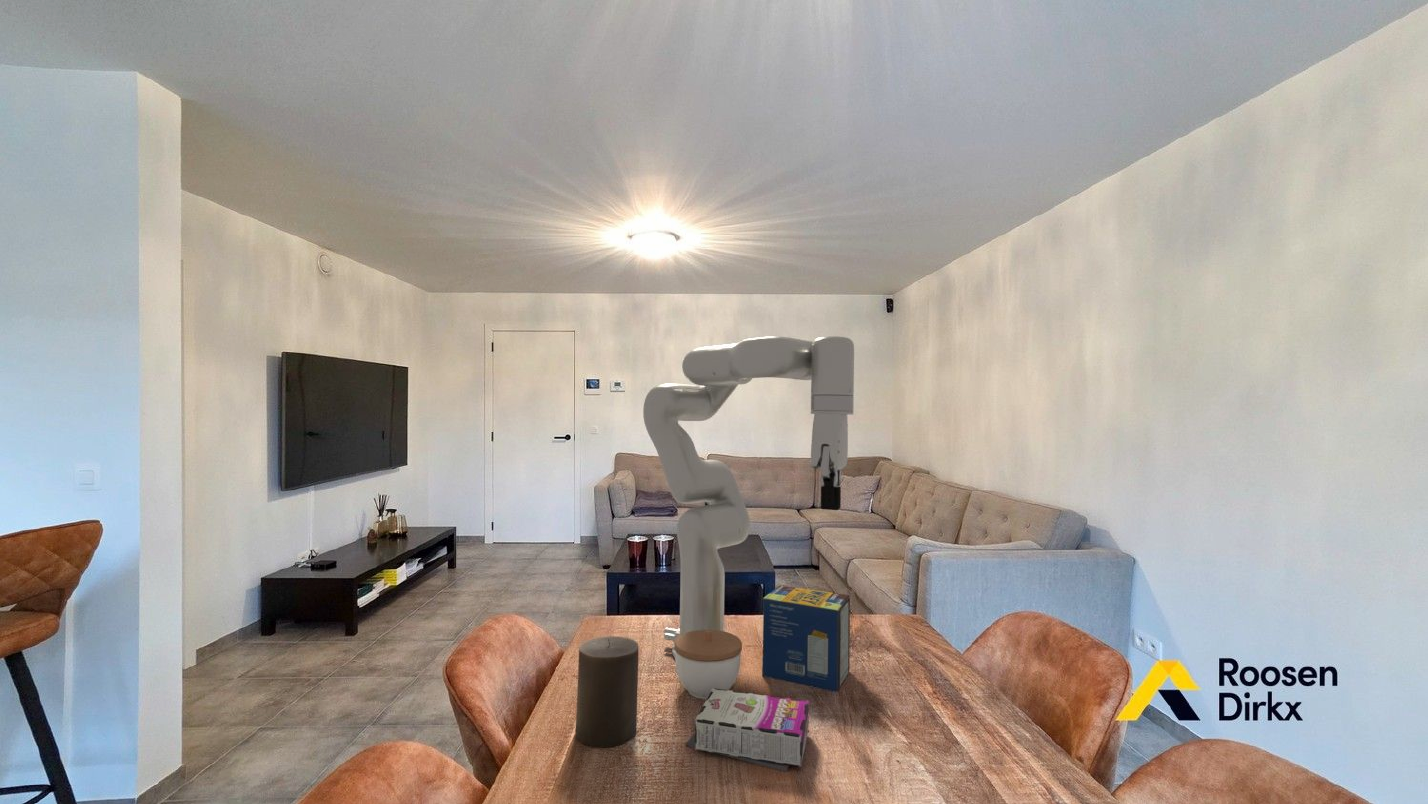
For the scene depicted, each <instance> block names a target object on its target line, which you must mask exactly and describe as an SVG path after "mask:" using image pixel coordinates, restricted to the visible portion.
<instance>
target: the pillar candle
mask: <svg viewBox="0 0 1428 804" xmlns="http://www.w3.org/2000/svg"><path fill="white" fill-rule="evenodd" d="M639 650H640V649H639V643H638V642H637V641H635V639H633V638H629V637H625V636H624V637H622V636H613V635H612V636H600V637H595V638H589V639H587V640H586V641H584V642H582V643H581V644H580V645H579V647H578V666H577V667H578V670H577V671H578V673H577V694H576V696H577V697H576V717H575V719H576V720H575V734H576V737H577V739H578V740H579V741H580V743H582V744H584V745H586V746H588V747H594V748H613V747H614V748H615V747H619V746H620V745H623V744H625V743H627V742H629V741H630V740H632V739H633V737H635V735H636V733H637V725H638V724H637V722H638V721H637V719H638V689H639V688H638V687H639V685H638V684H639Z"/></svg>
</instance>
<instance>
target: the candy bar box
mask: <svg viewBox="0 0 1428 804" xmlns="http://www.w3.org/2000/svg"><path fill="white" fill-rule="evenodd" d="M809 719H810V701H809V700H806V699H805V700H803V699H796V698H789V697H782V696H774V695H767V694H759V693H758V694H757V693H752V692H744V691H743V692H742V691H737V690H732V689H731V690H730V689H729V690H723V689H716V688H712V690H711V692H710V694H709V696H708V698H707V699H705V702H704V703H703V705H702V706H701V709H700V710H699V711H698V714H697V716H696V717H695V719H694V733H695V748H694V751H701V752H706V753H707V752H708V753H712V752H713V753H712V754H716V753H718V754H717V755H719V754H725V755H731V756H737V757H744V758H750V759H756V760H763V761H769V762H775V763H781V764H787V765H789V766H794V767H802V763H803V758H804V754H805V750H806V745H807V744H806V743H807V739H808V732H809V728H810V725H809V724H810V720H809Z"/></svg>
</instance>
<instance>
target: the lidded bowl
mask: <svg viewBox="0 0 1428 804" xmlns="http://www.w3.org/2000/svg"><path fill="white" fill-rule="evenodd" d="M674 645H675V658H674V662H675V663H674V664H675V669H676V674H677V677H678V680H679V681H680V683H681V684H682V686H683V687H684V689H686V690H687V691H688V694H689V695H690V696H692V697H693V698H696V699H700V700H706V699H707V698H708V696H709V694H710V692H711V690H712V688H716V689H723V690H730V689H731V688H732V687H733V685H734V684H735V683H736V680H737V679H738V677H739V673H740V669H741V662H742V649H743V648H742V647H743V642H742V640H741V639H740V637H738V636H737V635H735V634H733V633H731V632H727V631H718V630H696V631H691V632H687V633H684V634H682V635H680V636H679V637H677V639H676V640H675V642H674Z"/></svg>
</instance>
